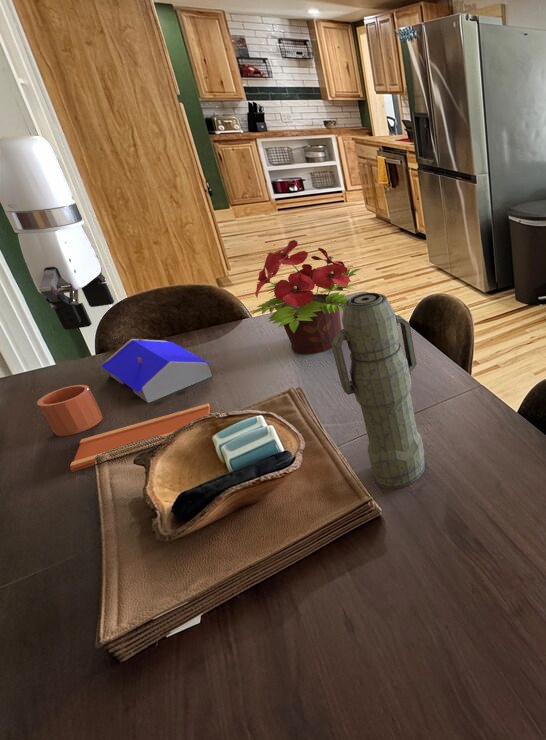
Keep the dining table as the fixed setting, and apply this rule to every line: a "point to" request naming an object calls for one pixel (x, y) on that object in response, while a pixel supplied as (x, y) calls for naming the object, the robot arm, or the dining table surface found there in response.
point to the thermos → (382, 386)
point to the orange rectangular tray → (133, 435)
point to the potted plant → (306, 299)
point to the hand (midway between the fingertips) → (91, 315)
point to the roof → (156, 368)
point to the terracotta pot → (70, 410)
